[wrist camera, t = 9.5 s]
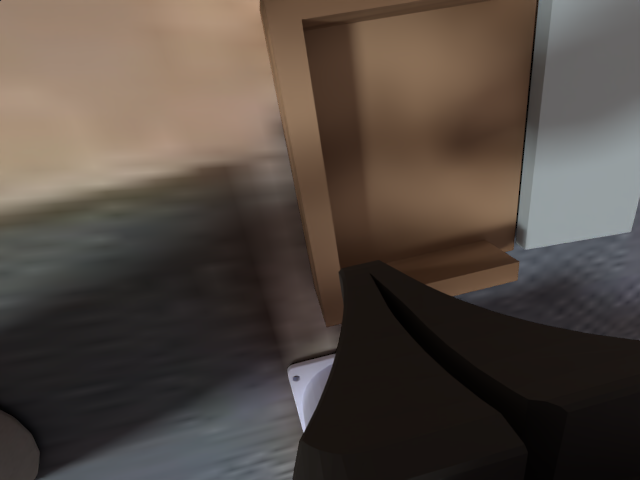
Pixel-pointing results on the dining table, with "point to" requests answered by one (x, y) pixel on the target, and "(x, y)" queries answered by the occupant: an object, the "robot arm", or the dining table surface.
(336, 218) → the brown shallow open box
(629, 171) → the cabinet door
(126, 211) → the dining table surface
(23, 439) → the canister
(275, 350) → the dining table surface
